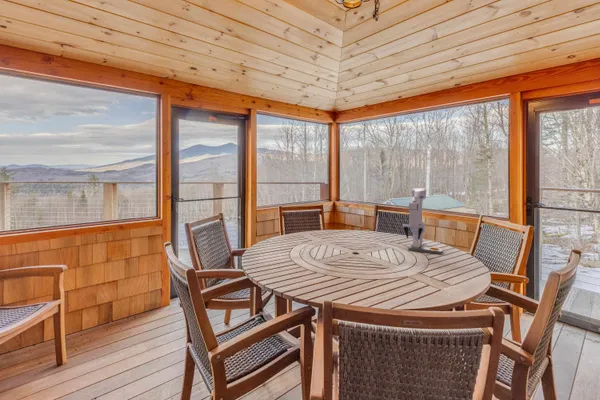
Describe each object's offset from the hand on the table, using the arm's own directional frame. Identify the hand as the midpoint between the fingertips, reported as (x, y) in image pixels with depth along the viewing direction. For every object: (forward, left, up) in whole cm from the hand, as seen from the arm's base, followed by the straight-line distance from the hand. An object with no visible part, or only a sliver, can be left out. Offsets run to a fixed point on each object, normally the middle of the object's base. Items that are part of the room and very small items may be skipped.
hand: (413, 238), depth 214 cm
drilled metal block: (-7, +1, -10) cm, 12 cm away
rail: (-7, +7, -10) cm, 14 cm away
